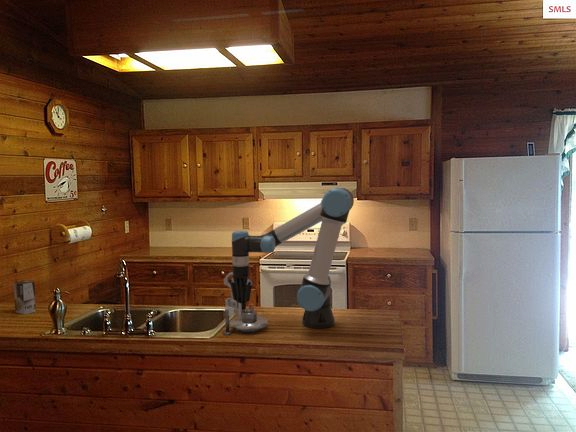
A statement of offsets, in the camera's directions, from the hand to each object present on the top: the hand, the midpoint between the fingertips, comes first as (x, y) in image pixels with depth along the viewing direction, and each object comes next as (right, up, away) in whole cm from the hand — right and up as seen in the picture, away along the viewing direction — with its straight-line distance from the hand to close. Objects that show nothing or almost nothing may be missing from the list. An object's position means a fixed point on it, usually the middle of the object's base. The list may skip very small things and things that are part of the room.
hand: (241, 316), depth 215 cm
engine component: (-6, -4, +29) cm, 30 cm away
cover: (+4, -2, -2) cm, 4 cm away
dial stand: (-5, -6, -8) cm, 11 cm away
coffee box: (-117, -5, +34) cm, 122 cm away
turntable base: (+4, -5, -2) cm, 7 cm away
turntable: (+4, -3, -2) cm, 5 cm away
